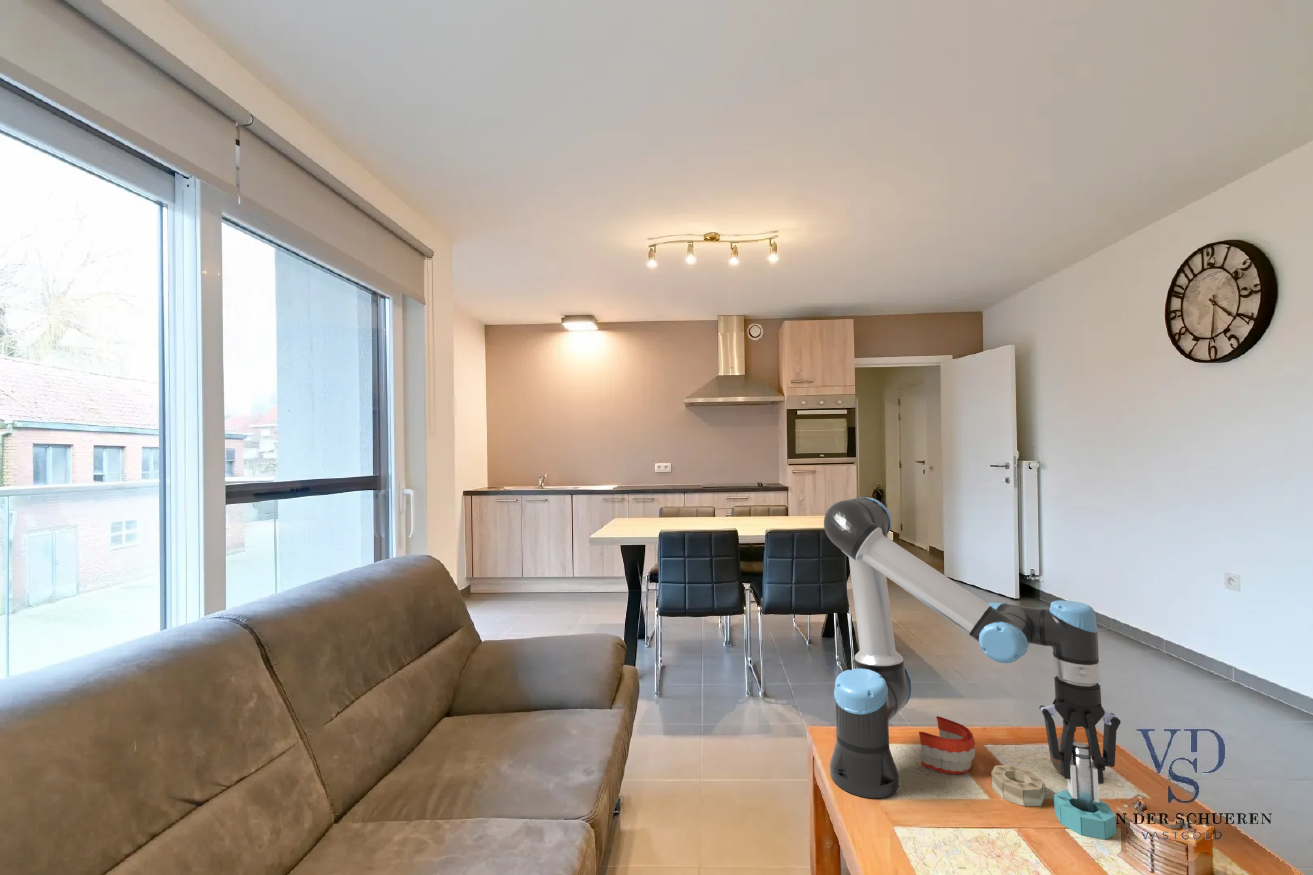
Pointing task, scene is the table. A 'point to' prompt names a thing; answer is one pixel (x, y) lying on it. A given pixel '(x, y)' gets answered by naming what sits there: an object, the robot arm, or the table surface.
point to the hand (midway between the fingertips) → (1083, 796)
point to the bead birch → (1018, 785)
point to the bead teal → (1085, 817)
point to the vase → (1056, 762)
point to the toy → (948, 748)
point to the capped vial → (1083, 777)
